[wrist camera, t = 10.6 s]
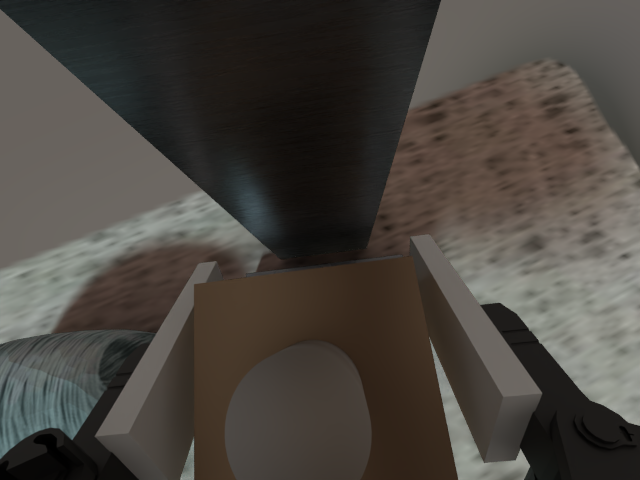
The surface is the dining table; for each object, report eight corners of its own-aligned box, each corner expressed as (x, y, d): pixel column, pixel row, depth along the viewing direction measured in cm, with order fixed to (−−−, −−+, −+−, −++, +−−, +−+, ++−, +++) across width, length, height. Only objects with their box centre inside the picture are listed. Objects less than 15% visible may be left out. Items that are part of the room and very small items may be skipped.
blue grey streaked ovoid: (202, 284, 17) (-36, 432, 8) (244, 421, 19) (94, 672, 10) (45, 303, 21) (-235, 416, 12) (93, 414, 23) (-116, 586, 14)
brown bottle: (284, 412, 16) (106, 690, 4) (276, 302, 18) (130, 270, 6) (393, 401, 16) (545, 666, 4) (375, 289, 17) (442, 228, 5)
